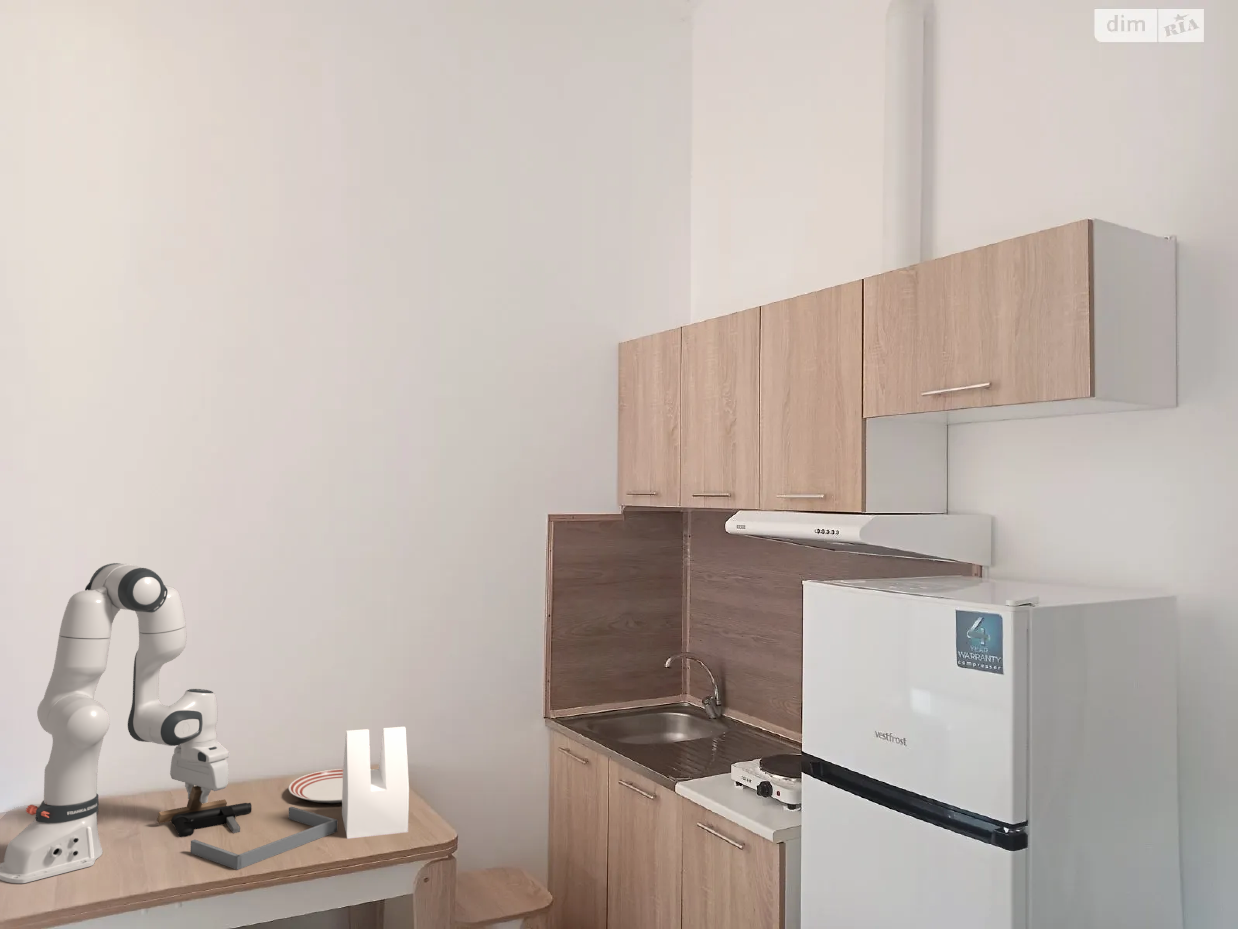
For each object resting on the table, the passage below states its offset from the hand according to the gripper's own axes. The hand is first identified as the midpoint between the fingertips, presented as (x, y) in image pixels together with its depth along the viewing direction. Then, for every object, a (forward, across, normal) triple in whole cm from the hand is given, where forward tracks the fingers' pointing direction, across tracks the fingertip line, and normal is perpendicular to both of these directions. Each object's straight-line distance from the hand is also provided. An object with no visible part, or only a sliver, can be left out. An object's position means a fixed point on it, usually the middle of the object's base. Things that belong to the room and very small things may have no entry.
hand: (197, 801), depth 255 cm
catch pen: (+5, +29, -1) cm, 29 cm away
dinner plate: (+6, +14, +36) cm, 39 cm away
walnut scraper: (+4, -2, 0) cm, 5 cm away
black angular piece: (+6, +8, 0) cm, 10 cm away
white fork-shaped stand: (+5, +41, +24) cm, 48 cm away
